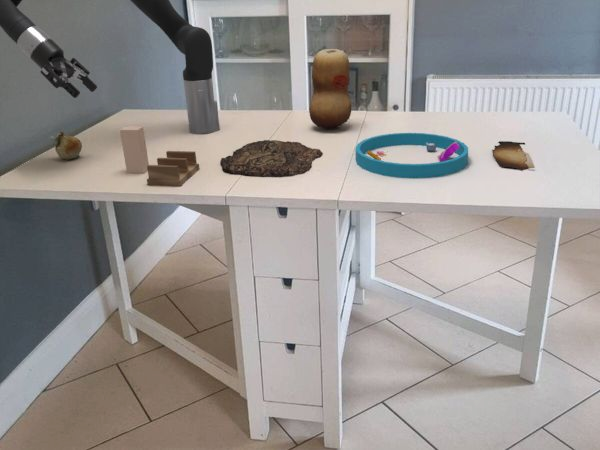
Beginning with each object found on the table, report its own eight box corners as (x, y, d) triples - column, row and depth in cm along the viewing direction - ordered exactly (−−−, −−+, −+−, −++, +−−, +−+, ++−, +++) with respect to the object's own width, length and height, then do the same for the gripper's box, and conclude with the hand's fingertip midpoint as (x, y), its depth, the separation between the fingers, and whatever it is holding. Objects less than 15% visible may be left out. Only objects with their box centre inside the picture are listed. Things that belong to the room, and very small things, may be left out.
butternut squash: (324, 136, 186) (322, 54, 176) (302, 127, 197) (299, 50, 187) (360, 128, 192) (360, 49, 182) (337, 120, 203) (336, 45, 193)
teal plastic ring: (471, 181, 146) (473, 158, 143) (350, 178, 151) (350, 156, 149) (463, 146, 172) (465, 126, 170) (360, 144, 178) (360, 125, 175)
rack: (168, 168, 163) (166, 150, 161) (199, 168, 161) (197, 151, 159) (147, 185, 151) (144, 166, 149) (180, 186, 149) (178, 167, 147)
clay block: (132, 168, 164) (125, 126, 159) (149, 169, 163) (143, 126, 158) (127, 172, 161) (119, 129, 156) (144, 173, 160) (137, 130, 155)
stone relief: (205, 158, 156) (250, 129, 182) (207, 174, 158) (251, 143, 184) (298, 165, 148) (332, 133, 174) (299, 182, 150) (332, 148, 176)
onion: (61, 164, 170) (55, 137, 167) (53, 158, 176) (48, 131, 173) (87, 158, 174) (82, 132, 171) (79, 152, 180) (74, 127, 177)
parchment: (536, 171, 149) (536, 168, 149) (495, 169, 151) (495, 166, 151) (525, 145, 171) (525, 142, 171) (489, 143, 174) (490, 140, 173)
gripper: (30, 40, 149) (79, 87, 151) (63, 34, 162) (107, 78, 164) (16, 62, 152) (64, 107, 154) (49, 54, 165) (93, 97, 167)
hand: (86, 92), depth 159 cm, fingers open, 8 cm apart
